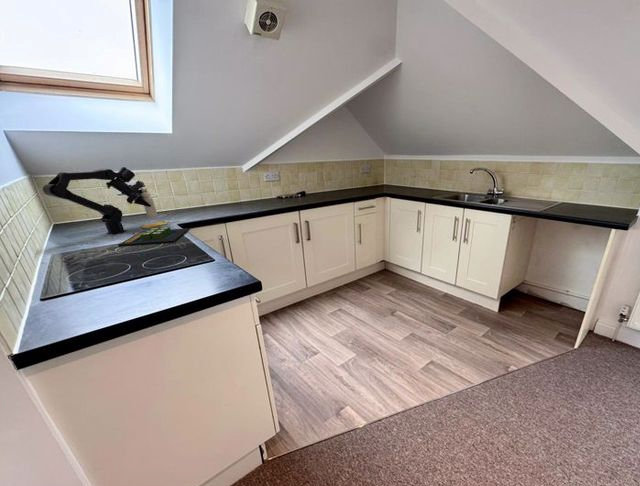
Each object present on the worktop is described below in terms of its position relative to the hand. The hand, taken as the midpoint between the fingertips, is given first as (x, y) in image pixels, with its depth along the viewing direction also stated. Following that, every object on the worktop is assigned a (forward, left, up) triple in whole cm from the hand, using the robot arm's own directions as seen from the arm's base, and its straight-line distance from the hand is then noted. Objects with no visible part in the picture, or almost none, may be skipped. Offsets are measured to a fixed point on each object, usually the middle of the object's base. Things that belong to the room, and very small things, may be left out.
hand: (151, 205), depth 178 cm
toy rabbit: (-1, +1, -7) cm, 7 cm away
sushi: (-19, -22, -13) cm, 32 cm away
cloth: (+1, +4, -13) cm, 13 cm away
